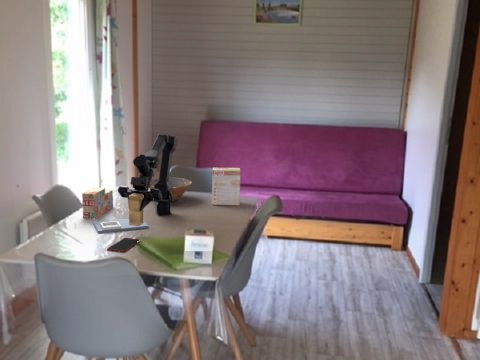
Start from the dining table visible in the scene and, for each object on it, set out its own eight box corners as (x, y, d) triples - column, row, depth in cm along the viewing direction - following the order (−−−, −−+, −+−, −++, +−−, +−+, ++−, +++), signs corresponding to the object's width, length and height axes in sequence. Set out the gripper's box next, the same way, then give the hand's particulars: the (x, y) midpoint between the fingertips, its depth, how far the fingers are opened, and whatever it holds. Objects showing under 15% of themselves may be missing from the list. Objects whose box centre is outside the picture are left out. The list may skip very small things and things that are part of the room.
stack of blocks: (101, 206, 250) (101, 183, 247) (113, 207, 249) (112, 184, 247) (82, 218, 229) (81, 192, 227) (95, 219, 228) (94, 193, 226)
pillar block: (133, 222, 210) (133, 193, 208) (143, 223, 210) (142, 194, 207) (129, 225, 206) (128, 195, 203) (139, 226, 205) (138, 196, 202)
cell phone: (106, 251, 188) (106, 249, 188) (124, 239, 202) (124, 237, 202) (124, 253, 187) (124, 251, 186) (141, 241, 200) (141, 239, 200)
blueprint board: (140, 219, 230) (140, 214, 229) (148, 227, 217) (148, 223, 217) (93, 224, 220) (92, 219, 220) (98, 233, 208) (98, 228, 208)
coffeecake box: (239, 202, 266) (240, 167, 262) (239, 205, 259) (240, 170, 255) (212, 201, 266) (212, 166, 262) (211, 205, 259) (212, 169, 255)
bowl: (174, 191, 285) (174, 175, 283) (200, 200, 268) (200, 182, 266) (137, 197, 269) (137, 180, 267) (162, 207, 251) (162, 189, 249)
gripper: (118, 167, 208) (107, 198, 200) (159, 170, 205) (150, 202, 197) (127, 181, 218) (116, 211, 209) (166, 184, 214) (157, 215, 206)
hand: (134, 210), depth 205 cm, fingers closed on pillar block, 4 cm apart
